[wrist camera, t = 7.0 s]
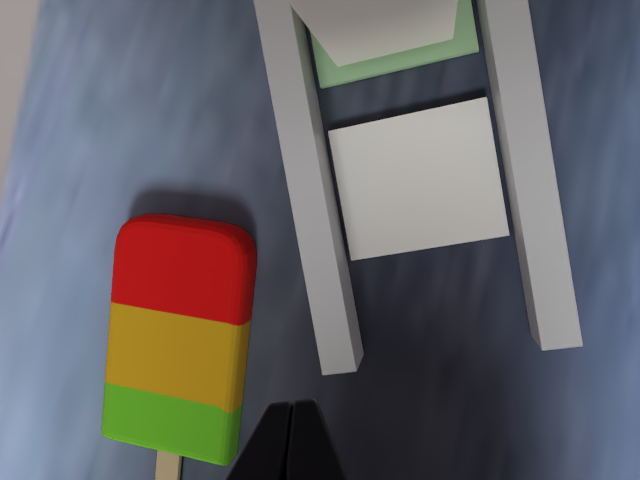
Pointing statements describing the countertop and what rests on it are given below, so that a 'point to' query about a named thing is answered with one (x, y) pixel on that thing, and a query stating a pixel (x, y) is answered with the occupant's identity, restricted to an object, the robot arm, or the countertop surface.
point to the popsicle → (179, 338)
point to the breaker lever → (376, 25)
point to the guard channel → (420, 171)
